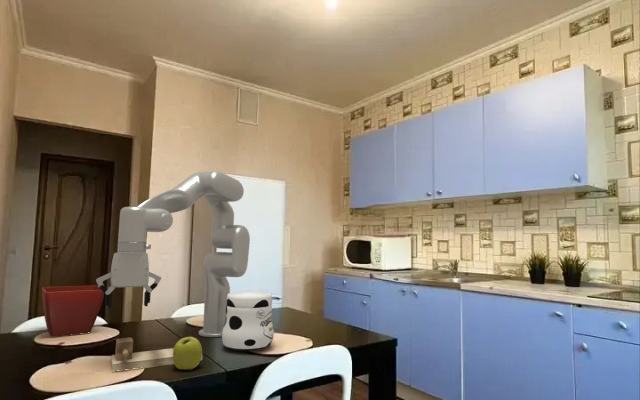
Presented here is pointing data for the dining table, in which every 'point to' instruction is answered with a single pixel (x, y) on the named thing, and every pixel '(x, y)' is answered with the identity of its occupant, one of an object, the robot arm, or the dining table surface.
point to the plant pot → (71, 308)
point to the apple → (187, 353)
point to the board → (145, 360)
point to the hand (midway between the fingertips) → (127, 306)
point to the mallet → (124, 349)
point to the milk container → (248, 321)
